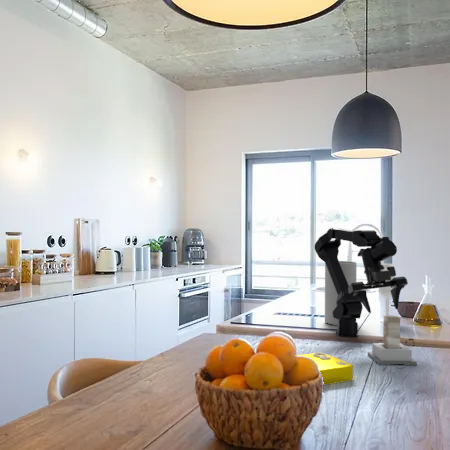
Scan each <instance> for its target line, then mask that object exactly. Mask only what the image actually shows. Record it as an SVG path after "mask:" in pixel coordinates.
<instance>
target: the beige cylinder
mask: <svg viewBox="0 0 450 450" xmlns="http://www.w3.org/2000/svg"><path fill="white" fill-rule="evenodd" d="M383 318H384V322H382V323H383V326H382V327H383V333H382V334H383V337H382V339H383V341H382V343H383V347H384V348H385V349H400V343H401V317H400V316H396V315H389V316H386V315H383Z"/></svg>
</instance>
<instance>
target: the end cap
mask: <svg viewBox="0 0 450 450" xmlns="http://www.w3.org/2000/svg"><path fill="white" fill-rule="evenodd" d="M371 347H372V348H371V351H367V356H368V357H369V356H370V357H371V358H372V360H373V361H374V360H375V361H376V362H377V363H378V364H404V365H403V366H417V364H418V363H417V362H418V361H416V360H415V359H414V358H413V357H412V356H413V355H412V350H411V349H410V348H409V347H407V346H406V345H404V344H403V343H401V342H400V349H385V348H384V347H383V342H372V345H371ZM370 357H369V358H370ZM371 358H370V359H371ZM375 361H374V362H375ZM376 362H375V363H376ZM377 363H376V364H377ZM378 364H377V365H378Z"/></svg>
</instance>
